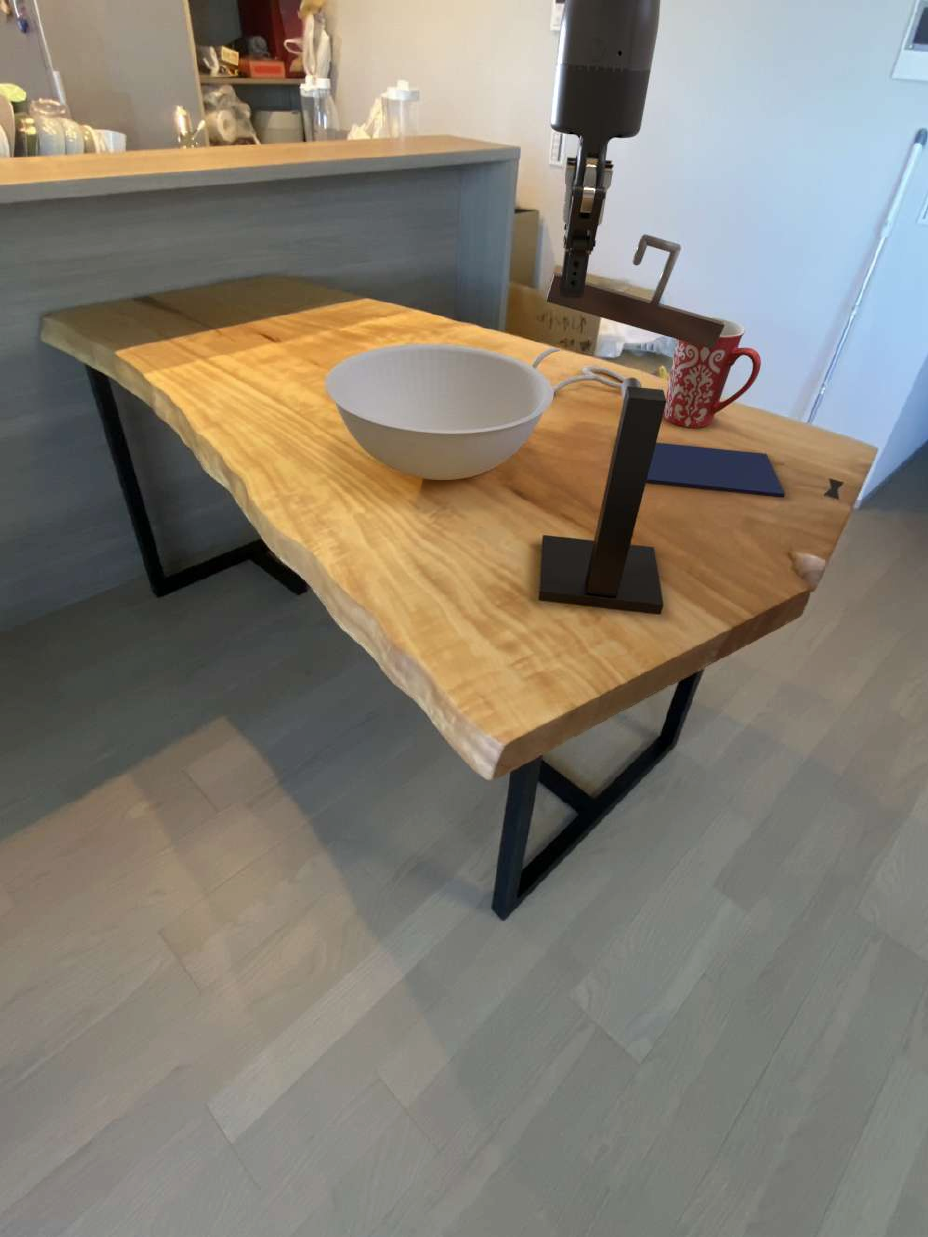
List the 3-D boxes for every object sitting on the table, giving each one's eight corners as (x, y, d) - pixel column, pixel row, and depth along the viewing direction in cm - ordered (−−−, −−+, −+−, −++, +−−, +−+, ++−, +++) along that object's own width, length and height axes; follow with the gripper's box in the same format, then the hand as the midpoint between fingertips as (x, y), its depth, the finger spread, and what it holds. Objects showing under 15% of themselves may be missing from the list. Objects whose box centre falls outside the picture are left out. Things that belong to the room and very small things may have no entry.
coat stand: (651, 553, 75) (705, 360, 62) (660, 614, 67) (725, 408, 54) (541, 541, 76) (571, 347, 62) (538, 600, 68) (571, 392, 54)
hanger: (711, 345, 68) (749, 263, 63) (713, 349, 67) (752, 267, 62) (546, 298, 67) (572, 210, 62) (546, 301, 66) (572, 213, 61)
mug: (644, 415, 103) (666, 322, 94) (675, 400, 108) (699, 310, 99) (720, 446, 97) (751, 348, 88) (750, 428, 102) (782, 334, 93)
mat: (765, 456, 95) (766, 453, 94) (784, 497, 86) (785, 493, 86) (619, 441, 96) (620, 438, 96) (624, 480, 88) (624, 476, 87)
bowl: (378, 535, 75) (375, 450, 69) (303, 430, 93) (296, 356, 87) (584, 488, 85) (599, 411, 79) (481, 403, 103) (486, 334, 97)
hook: (505, 386, 107) (596, 383, 118) (543, 408, 102) (635, 403, 112) (516, 337, 103) (609, 339, 114) (556, 358, 97) (650, 358, 108)
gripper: (660, 66, 49) (614, 319, 60) (644, 62, 60) (606, 278, 71) (556, 58, 50) (529, 311, 61) (557, 56, 60) (534, 272, 71)
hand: (571, 293), depth 66 cm, fingers closed on hanger, 1 cm apart
